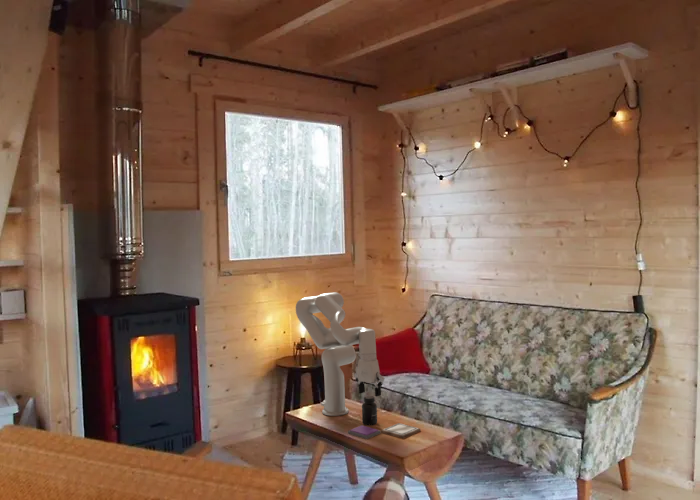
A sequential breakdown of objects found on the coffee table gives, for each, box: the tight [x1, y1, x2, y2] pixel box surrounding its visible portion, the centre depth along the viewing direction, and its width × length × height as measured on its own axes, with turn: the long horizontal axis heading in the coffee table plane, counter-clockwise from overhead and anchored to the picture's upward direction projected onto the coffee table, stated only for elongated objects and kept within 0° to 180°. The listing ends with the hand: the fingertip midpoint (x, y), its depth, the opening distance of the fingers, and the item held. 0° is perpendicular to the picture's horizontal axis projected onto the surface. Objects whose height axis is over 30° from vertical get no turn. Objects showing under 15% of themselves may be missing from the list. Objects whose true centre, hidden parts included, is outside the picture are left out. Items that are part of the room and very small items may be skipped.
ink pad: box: [347, 424, 382, 440], centre depth 269 cm, size 11×9×2 cm
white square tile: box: [380, 422, 421, 439], centre depth 270 cm, size 12×12×1 cm
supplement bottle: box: [361, 395, 378, 426], centre depth 282 cm, size 7×7×12 cm
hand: (370, 394), depth 281 cm, fingers open, 9 cm apart
